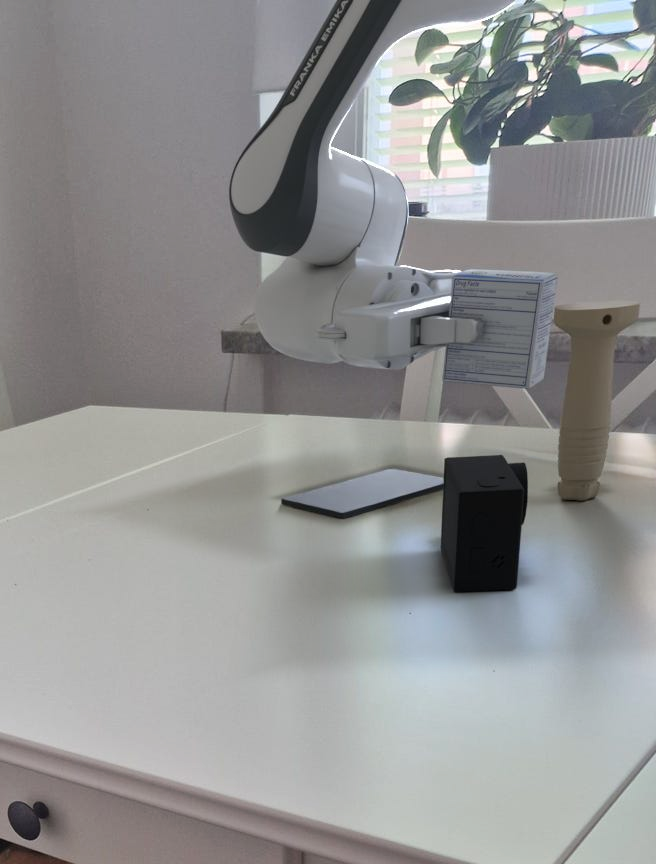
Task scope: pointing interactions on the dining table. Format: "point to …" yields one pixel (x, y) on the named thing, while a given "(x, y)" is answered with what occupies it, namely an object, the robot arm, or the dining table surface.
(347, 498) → the smartphone
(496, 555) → the digital camera
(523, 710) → the dining table surface
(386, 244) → the robot arm
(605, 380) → the handle
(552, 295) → the medicine box
